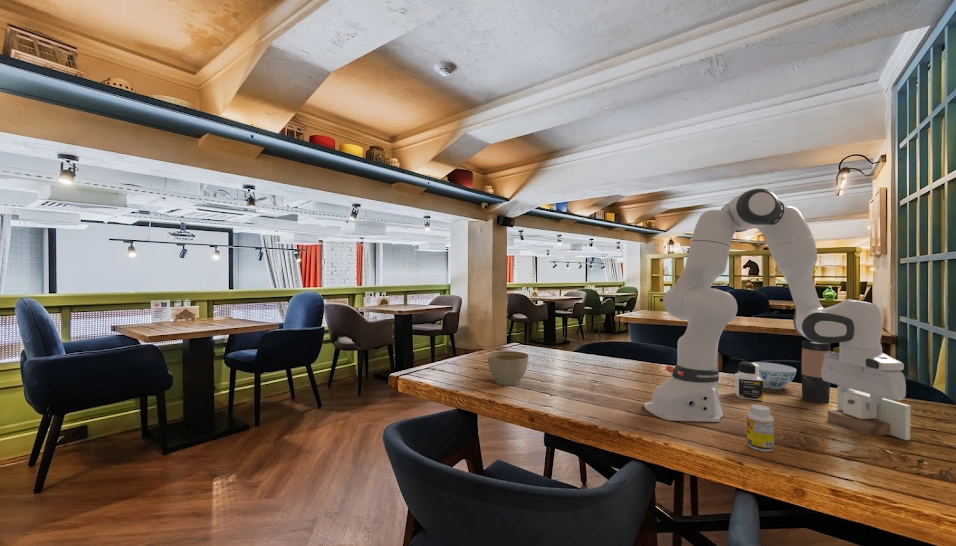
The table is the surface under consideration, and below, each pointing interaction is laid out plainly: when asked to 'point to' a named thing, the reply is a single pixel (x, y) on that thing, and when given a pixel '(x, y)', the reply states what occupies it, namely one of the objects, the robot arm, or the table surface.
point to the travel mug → (814, 372)
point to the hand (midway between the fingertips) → (859, 406)
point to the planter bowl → (507, 366)
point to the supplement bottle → (760, 428)
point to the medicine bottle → (748, 381)
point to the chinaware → (775, 374)
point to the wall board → (888, 415)
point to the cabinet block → (857, 405)
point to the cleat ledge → (859, 423)
